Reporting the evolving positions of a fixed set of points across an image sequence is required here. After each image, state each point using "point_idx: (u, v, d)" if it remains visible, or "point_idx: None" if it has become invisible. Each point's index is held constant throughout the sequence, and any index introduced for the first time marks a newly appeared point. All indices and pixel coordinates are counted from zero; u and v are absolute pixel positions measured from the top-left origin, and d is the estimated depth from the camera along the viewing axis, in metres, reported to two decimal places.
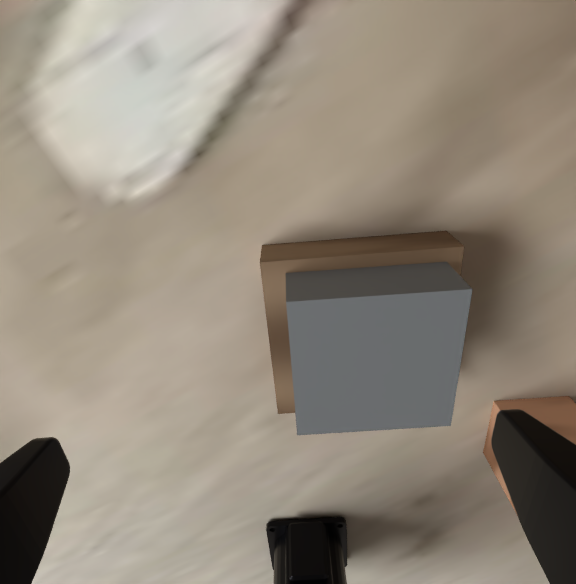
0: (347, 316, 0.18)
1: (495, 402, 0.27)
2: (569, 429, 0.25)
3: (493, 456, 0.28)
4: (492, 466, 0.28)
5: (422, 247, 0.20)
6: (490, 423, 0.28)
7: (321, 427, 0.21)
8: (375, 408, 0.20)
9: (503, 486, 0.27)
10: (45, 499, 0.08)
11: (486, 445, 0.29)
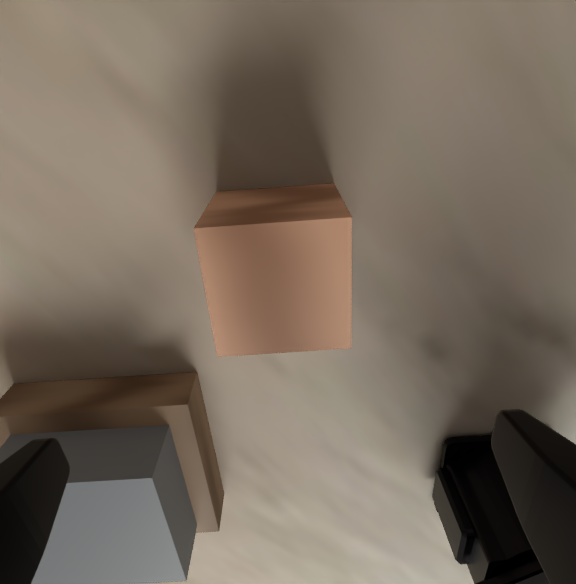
0: None
1: None
2: None
3: None
4: None
5: None
6: None
7: (172, 567, 0.20)
8: (138, 535, 0.19)
9: None
10: (45, 499, 0.08)
11: None
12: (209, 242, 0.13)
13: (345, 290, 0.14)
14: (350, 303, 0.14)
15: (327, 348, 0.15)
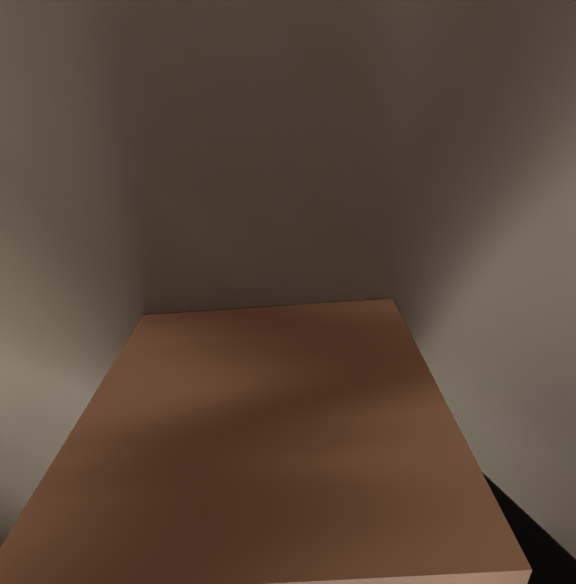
0: None
1: None
2: None
3: None
4: None
5: None
6: None
7: None
8: None
9: None
10: None
11: None
12: None
13: None
14: None
15: None
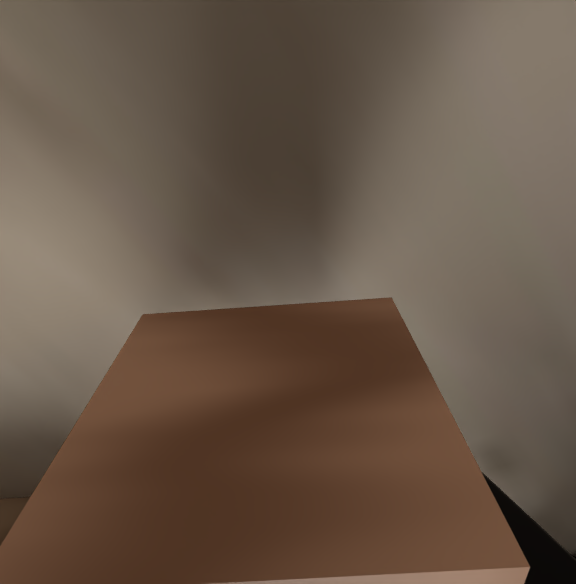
0: None
1: None
2: None
3: None
4: None
5: None
6: None
7: None
8: None
9: None
10: None
11: None
12: None
13: None
14: None
15: None
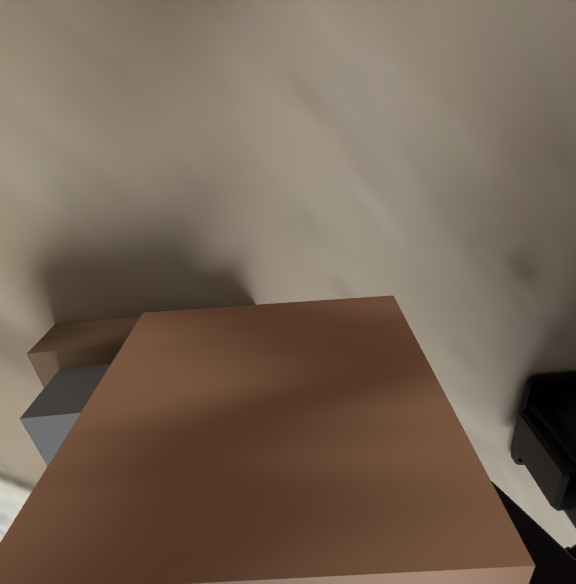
0: None
1: None
2: None
3: None
4: None
5: None
6: None
7: None
8: None
9: None
10: None
11: None
12: None
13: None
14: None
15: None
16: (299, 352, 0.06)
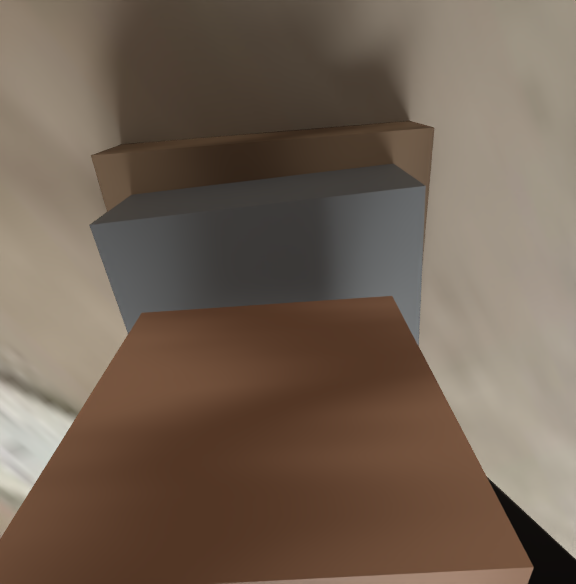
0: None
1: None
2: None
3: None
4: None
5: None
6: None
7: None
8: None
9: None
10: None
11: None
12: None
13: None
14: None
15: None
16: (298, 352, 0.06)
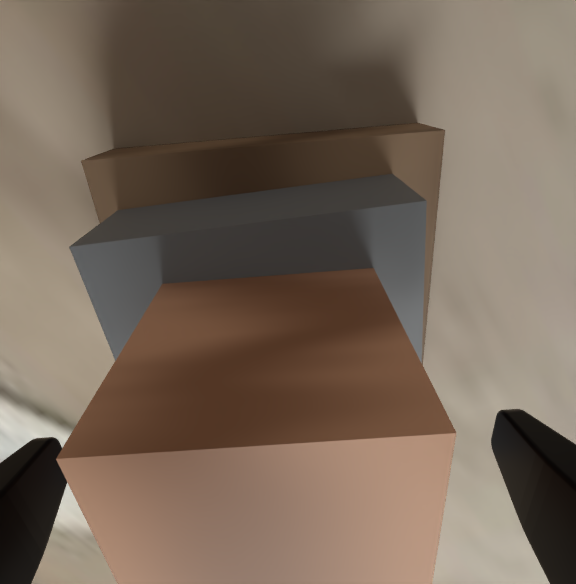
0: None
1: None
2: None
3: None
4: None
5: None
6: None
7: None
8: None
9: None
10: (45, 499, 0.08)
11: None
12: (100, 483, 0.05)
13: (422, 555, 0.06)
14: (431, 575, 0.06)
15: None
16: (293, 309, 0.08)
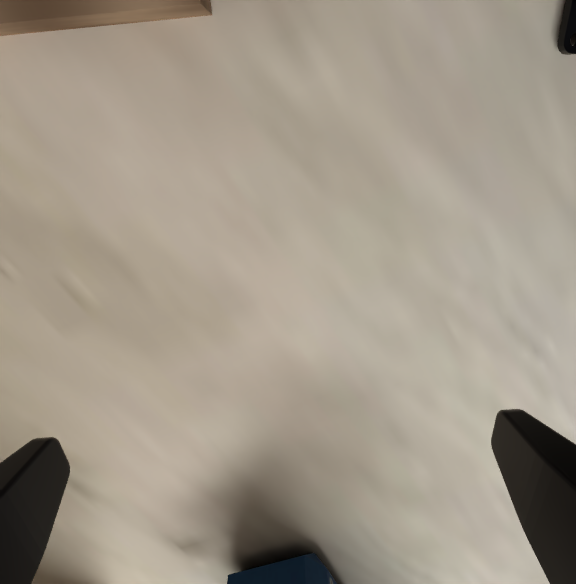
0: None
1: None
2: None
3: None
4: None
5: None
6: None
7: None
8: None
9: None
10: (45, 499, 0.08)
11: None
12: None
13: None
14: None
15: None
16: None
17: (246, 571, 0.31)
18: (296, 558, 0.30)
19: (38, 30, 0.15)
